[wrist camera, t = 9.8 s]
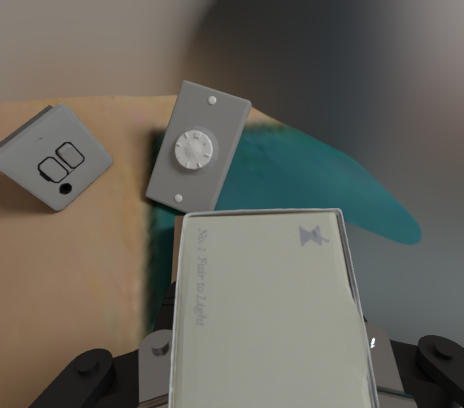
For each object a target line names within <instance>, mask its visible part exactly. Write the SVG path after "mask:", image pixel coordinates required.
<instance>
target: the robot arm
mask: <svg viewBox="0 0 464 408" xmlns="http://www.w3.org/2000/svg"><path fill="white" fill-rule="evenodd" d="M175 291H176V281H174V282H173V283H172V284H171V285H170V286H169V287H168V288H167V290H166V293H165V296H164V299H163V302H162V306H161V309H160V312H159V315H158V318H157V321H156V324H155V327H154V330H153V333H151V334H150V335H148V336H147V337H146V338H145V339H144V340H143V341H142V342H141V344H140V346H139V349H137V350H135V351H133V352H130V353H127V354H124V355H121V356H118V357H114V358H112V355H111V353H110V352H109V351H108V350H105V349H92V350H89V351H86V352H84V353H82V354H80V355H79V356H77V357H76V358H75V359H74V360H72V361H71V362H70V363H69V365H68V366H67V367H66V368H65V369H64V370H63V371H62V372H61V373H60V374H59V375H58V376H57V377H56V378H55V380H54V381H53V382H52V383H51V384H50V385H49V386H48V387H47V388H46V389H45V390H44V391H43V392H42V394H41V395H40V396H39V397H38V398H37V399H36V400H35V401H34V402H33V403H32V404H31V405H30V406H29V407H28V408H168V398H169V381H170V364H171V347H172V331H173V316H174V303H175ZM363 318H364V323H365V328H366V333H367V338H368V343H369V349H370V355H371V361H372V367H373V373H374V378H375V384H376V390H377V396H378V402H379V408H460V407H463V408H464V348H463V347H461V346H460V345H458V344H457V343H455V342H453V341H451V340H449V339H446V338H444V337H440V336H435V335H427V336H424V337H422V338H420V340H419V342H418V346H416V345H411V344H406V343H401V342H396V341H393V340H390V339H389V338H388V336H387V335H386V334H385V333H384V331H382V330H381V329H380V328H379V327H377V326H375V325H373V324H370V323H368V322H367V320H366V319H365V317H364V315H363Z"/></svg>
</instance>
